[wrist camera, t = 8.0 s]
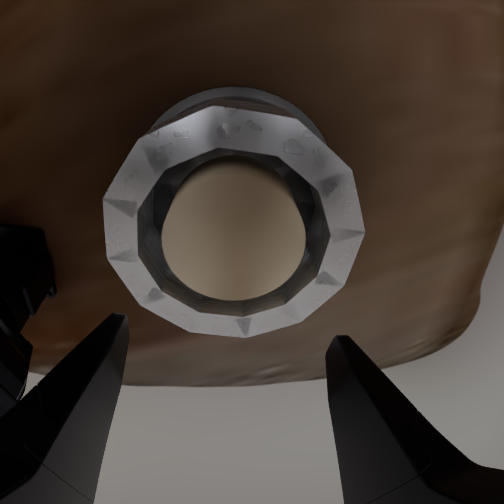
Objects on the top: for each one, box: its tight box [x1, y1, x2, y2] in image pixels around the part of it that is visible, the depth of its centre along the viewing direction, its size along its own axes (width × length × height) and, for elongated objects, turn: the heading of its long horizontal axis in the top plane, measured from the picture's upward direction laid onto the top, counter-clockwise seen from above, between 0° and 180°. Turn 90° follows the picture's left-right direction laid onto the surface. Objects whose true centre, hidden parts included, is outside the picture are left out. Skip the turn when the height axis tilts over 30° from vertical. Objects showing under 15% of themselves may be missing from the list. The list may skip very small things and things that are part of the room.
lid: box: [162, 155, 306, 301], centre depth 14 cm, size 6×6×3 cm
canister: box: [103, 86, 365, 338], centre depth 16 cm, size 12×12×7 cm
